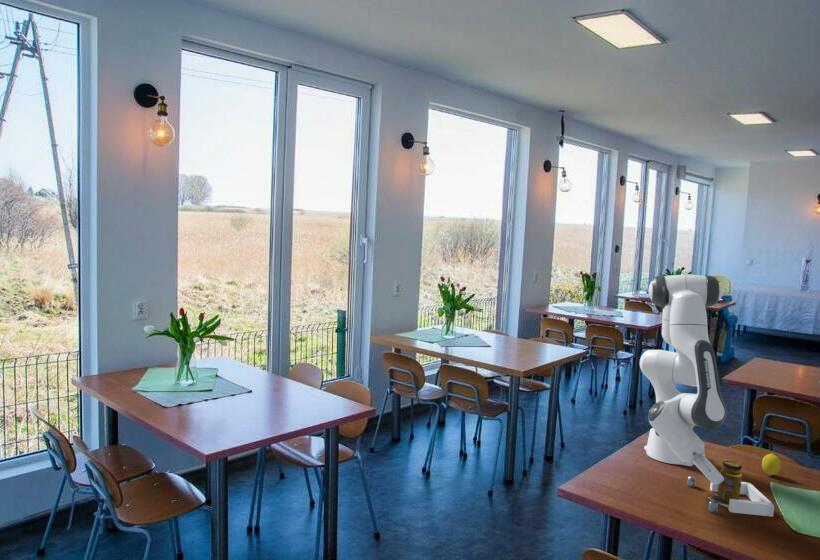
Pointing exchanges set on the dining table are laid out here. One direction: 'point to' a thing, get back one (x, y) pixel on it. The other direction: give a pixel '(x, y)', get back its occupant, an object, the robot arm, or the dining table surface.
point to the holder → (754, 507)
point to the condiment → (729, 483)
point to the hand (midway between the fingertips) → (718, 481)
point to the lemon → (771, 464)
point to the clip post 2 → (713, 507)
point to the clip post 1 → (691, 481)
